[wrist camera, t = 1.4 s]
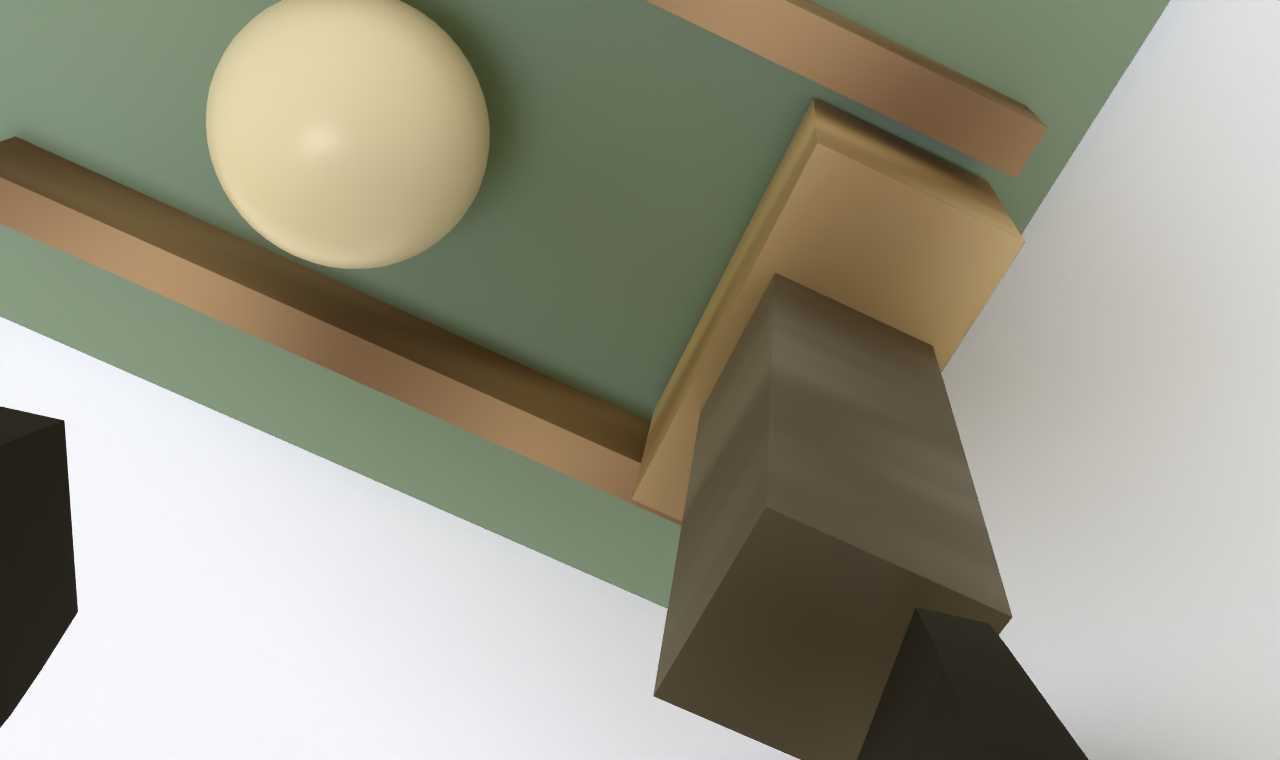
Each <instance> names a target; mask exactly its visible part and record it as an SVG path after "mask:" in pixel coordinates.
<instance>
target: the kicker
mask: <svg viewBox="0 0 1280 760" xmlns="http://www.w3.org/2000/svg"><path fill="white" fill-rule="evenodd" d="M1024 242H1025V241H1024V239H1023V238H1022V236H1021V234H1020V233H1019V231H1018V230H1017V228H1016V226H1015V225H1014V223H1013V221H1012V220H1011V218H1010V217H1009V215H1008V213H1007V212H1006V210H1005V208H1004V207H1003V205H1002V204H1001V202H1000V200H999V199H998V197H997V195H996V194H995V192H994V190H993V189H992V187H991V186H990V184H989V182H988V181H986V180H984V179H982V178H980V177H978V176H976V175H974V174H972V173H970V172H968V171H965V170H963V169H961V168H959V167H957V166H955V165H953V164H951V163H949V162H947V161H945V160H942V159H940V158H938V157H936V156H934V155H932V154H930V153H928V152H926V151H924V150H922V149H920V148H917V147H915V146H913V145H911V144H909V143H907V142H905V141H903V140H901V139H899V138H897V137H894V136H892V135H890V134H888V133H886V132H884V131H882V130H880V129H878V128H876V127H874V126H871V125H869V124H867V123H865V122H863V121H861V120H859V119H857V118H855V117H853V116H851V115H848V114H846V113H844V112H842V111H840V110H838V109H836V108H834V107H832V106H830V105H828V104H825V103H823V102H821V101H819V100H817V99H815V98H813V99H812V101H811V103H810V105H809V107H808V109H807V111H806V113H805V115H804V117H803V119H802V121H801V123H800V125H799V127H798V129H797V131H796V133H795V134H794V136H793V138H792V140H791V142H790V144H789V146H788V148H787V150H786V152H785V154H784V156H783V158H782V160H781V162H780V164H779V166H778V168H777V170H776V172H775V174H774V176H773V178H772V180H771V182H770V184H769V186H768V187H767V189H766V191H765V193H764V195H763V197H762V199H761V201H760V203H759V205H758V207H757V209H756V211H755V213H754V215H753V217H752V219H751V221H750V223H749V225H748V227H747V229H746V231H745V233H744V235H743V237H742V239H741V241H740V242H739V244H738V246H737V248H736V250H735V252H734V254H733V256H732V258H731V260H730V262H729V264H728V266H727V268H726V270H725V272H724V274H723V276H722V278H721V280H720V282H719V284H718V286H717V288H716V290H715V292H714V294H713V296H712V297H711V299H710V301H709V303H708V305H707V307H706V309H705V311H704V313H703V315H702V317H701V319H700V321H699V323H698V325H697V327H696V329H695V331H694V333H693V335H692V337H691V339H690V341H689V343H688V345H687V347H686V349H685V351H684V352H683V354H682V356H681V358H680V360H679V362H678V364H677V366H676V368H675V370H674V372H673V374H672V376H671V378H670V380H669V382H668V384H667V386H666V388H665V390H664V392H663V394H662V396H661V398H660V400H659V402H658V404H657V405H656V407H655V409H654V412H653V416H652V420H651V424H650V428H649V432H648V436H647V441H646V445H645V449H644V453H643V457H642V461H641V465H640V469H639V473H638V477H637V481H636V485H635V489H634V493H633V497H632V500H635V501H637V502H639V503H641V504H644V505H646V506H648V507H650V508H653V509H655V510H657V511H659V512H662V513H664V514H666V515H668V516H671V517H673V518H675V519H677V520H680V521H682V525H681V532H680V538H679V544H678V550H677V556H676V562H675V568H674V574H673V580H672V586H671V592H670V599H669V605H668V611H667V617H666V623H665V629H664V635H663V641H662V647H661V653H660V659H659V665H658V672H657V678H656V684H655V690H654V697H657V698H659V699H661V700H664V701H666V702H668V703H671V704H673V705H675V706H678V707H680V708H682V709H685V710H687V711H689V712H692V713H694V714H696V715H698V716H701V717H703V718H705V719H708V720H710V721H712V722H715V723H717V724H719V725H722V726H724V727H726V728H729V729H731V730H733V731H736V732H738V733H740V734H743V735H745V736H747V737H749V738H752V739H754V740H756V741H759V742H761V743H763V744H766V745H768V746H770V747H773V748H775V749H777V750H780V751H782V752H784V753H787V754H789V755H791V756H794V757H796V758H798V759H800V760H857V759H858V756H859V753H860V751H861V748H862V746H863V743H864V740H865V738H866V735H867V733H868V730H869V727H870V725H871V722H872V720H873V717H874V714H875V712H876V709H877V706H878V704H879V701H880V699H881V696H882V693H883V691H884V688H885V686H886V683H887V680H888V678H889V675H890V673H891V670H892V667H893V665H894V662H895V660H896V657H897V654H898V652H899V649H900V647H901V644H902V641H903V639H904V636H905V634H906V631H907V628H908V626H909V623H910V621H911V618H912V615H913V613H914V610H915V608H916V607H918V608H922V609H927V610H931V611H936V612H940V613H945V614H950V615H954V616H959V617H963V618H968V619H972V620H977V621H982V622H986V623H989V624H990V625H991V626H992V628H993V629H994V630H995V632H996V633H997V634H998V635H999V634H1000V632H1001V631H1002V630H1003V628H1004V627H1005V626H1006V625H1007V623H1008V622H1009V621H1010V619H1011V618H1012V614H1011V611H1010V607H1009V604H1008V600H1007V597H1006V594H1005V590H1004V587H1003V583H1002V580H1001V577H1000V573H999V570H998V566H997V563H996V559H995V556H994V553H993V549H992V546H991V542H990V539H989V536H988V532H987V529H986V525H985V522H984V518H983V515H982V512H981V508H980V505H979V501H978V498H977V495H976V491H975V488H974V484H973V481H972V478H971V474H970V471H969V467H968V464H967V460H966V457H965V454H964V450H963V447H962V443H961V440H960V437H959V433H958V430H957V426H956V423H955V419H954V416H953V413H952V409H951V406H950V402H949V399H948V396H947V392H946V389H945V385H944V382H943V379H942V375H941V372H942V370H943V369H944V367H945V366H946V364H947V363H948V361H949V360H950V358H951V356H952V355H953V353H954V352H955V350H956V349H957V347H958V345H959V344H960V342H961V341H962V339H963V338H964V336H965V335H966V333H967V331H968V330H969V328H970V327H971V325H972V324H973V322H974V320H975V319H976V317H977V316H978V314H979V313H980V311H981V310H982V308H983V306H984V305H985V303H986V302H987V300H988V299H989V297H990V296H991V294H992V292H993V291H994V289H995V288H996V286H997V285H998V283H999V281H1000V280H1001V278H1002V277H1003V275H1004V274H1005V272H1006V271H1007V269H1008V267H1009V266H1010V264H1011V263H1012V261H1013V260H1014V258H1015V256H1016V255H1017V253H1018V252H1019V250H1020V249H1021V247H1022V246H1023V244H1024Z"/></svg>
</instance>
